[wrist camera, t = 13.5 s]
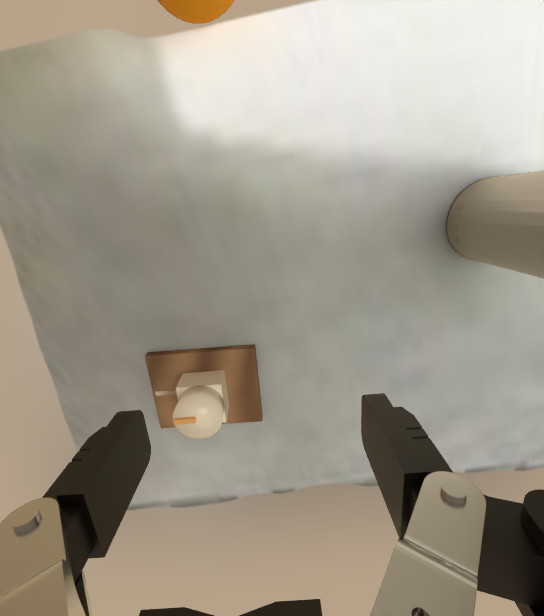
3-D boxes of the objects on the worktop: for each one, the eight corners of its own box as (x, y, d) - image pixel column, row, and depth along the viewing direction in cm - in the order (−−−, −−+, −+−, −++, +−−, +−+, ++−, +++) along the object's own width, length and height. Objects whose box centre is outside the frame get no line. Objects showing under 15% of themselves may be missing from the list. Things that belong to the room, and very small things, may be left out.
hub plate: (255, 344, 41) (253, 358, 37) (262, 416, 45) (261, 436, 41) (148, 352, 42) (135, 367, 38) (163, 423, 45) (153, 443, 41)
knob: (224, 369, 41) (218, 397, 35) (230, 406, 43) (224, 439, 37) (181, 372, 41) (167, 401, 35) (188, 409, 43) (176, 443, 37)
